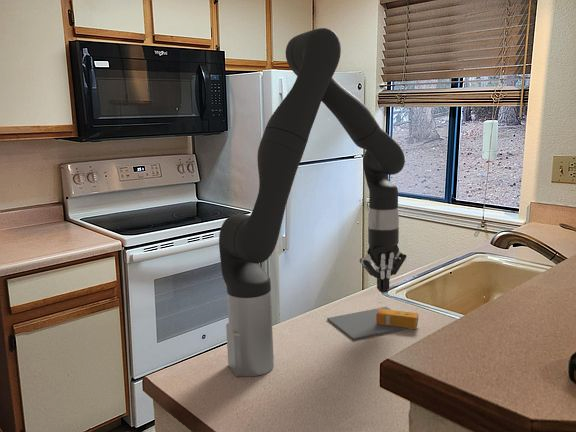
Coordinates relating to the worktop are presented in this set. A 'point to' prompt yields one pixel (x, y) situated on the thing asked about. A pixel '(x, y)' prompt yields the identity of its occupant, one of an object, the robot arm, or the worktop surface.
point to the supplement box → (397, 318)
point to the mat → (362, 324)
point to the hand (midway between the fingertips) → (383, 291)
